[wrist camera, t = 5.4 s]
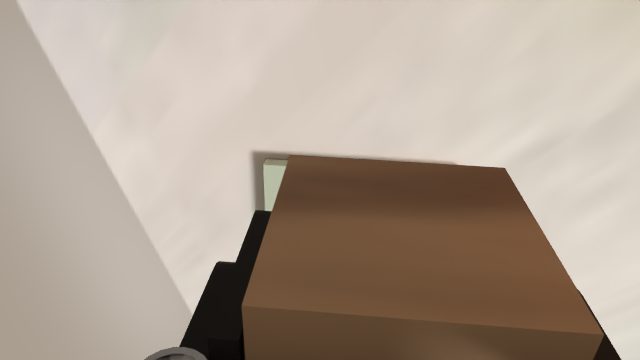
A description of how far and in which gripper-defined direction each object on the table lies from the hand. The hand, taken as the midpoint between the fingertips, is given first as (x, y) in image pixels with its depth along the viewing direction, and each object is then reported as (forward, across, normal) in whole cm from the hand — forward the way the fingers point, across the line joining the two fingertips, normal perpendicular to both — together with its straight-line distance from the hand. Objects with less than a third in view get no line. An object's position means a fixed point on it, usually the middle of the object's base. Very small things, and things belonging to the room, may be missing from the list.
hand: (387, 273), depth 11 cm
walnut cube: (+1, 0, 0) cm, 1 cm away
